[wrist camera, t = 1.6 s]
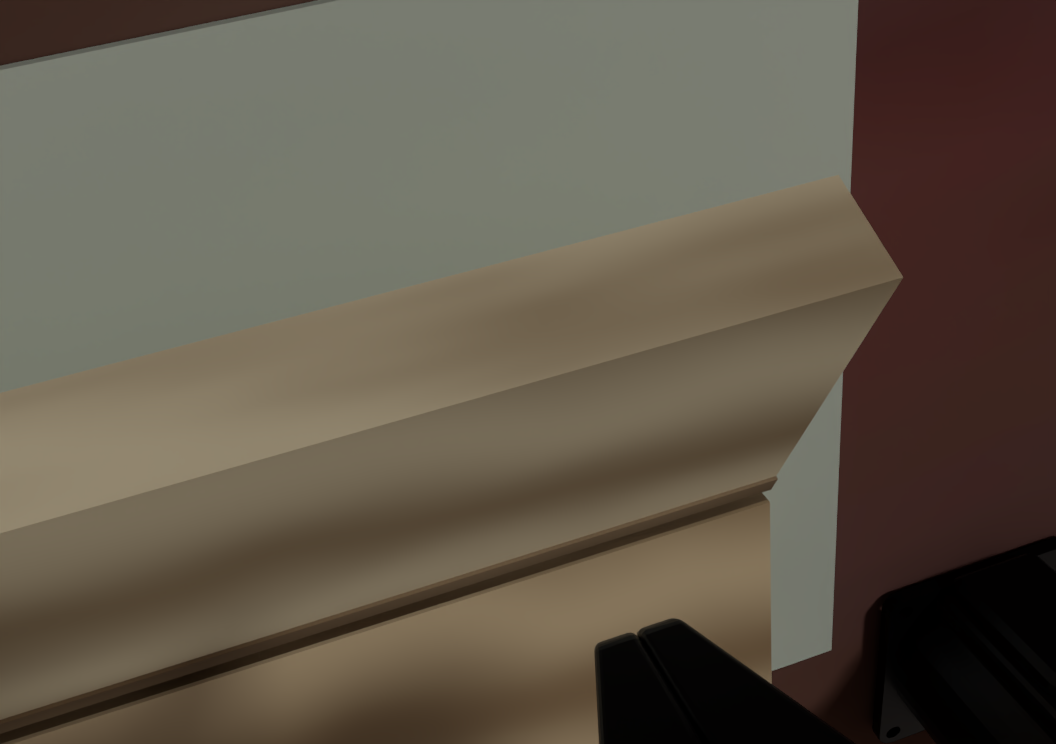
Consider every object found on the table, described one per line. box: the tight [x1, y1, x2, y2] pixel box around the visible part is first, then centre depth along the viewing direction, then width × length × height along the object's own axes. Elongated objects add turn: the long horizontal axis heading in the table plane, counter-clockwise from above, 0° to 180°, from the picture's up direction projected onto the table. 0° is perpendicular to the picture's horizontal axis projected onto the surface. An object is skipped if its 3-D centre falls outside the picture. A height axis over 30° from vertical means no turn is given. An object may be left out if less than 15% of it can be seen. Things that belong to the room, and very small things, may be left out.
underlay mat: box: [0, 0, 858, 671], centre depth 20 cm, size 20×30×1 cm, turn 99°
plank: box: [0, 175, 903, 734], centre depth 15 cm, size 8×24×2 cm
